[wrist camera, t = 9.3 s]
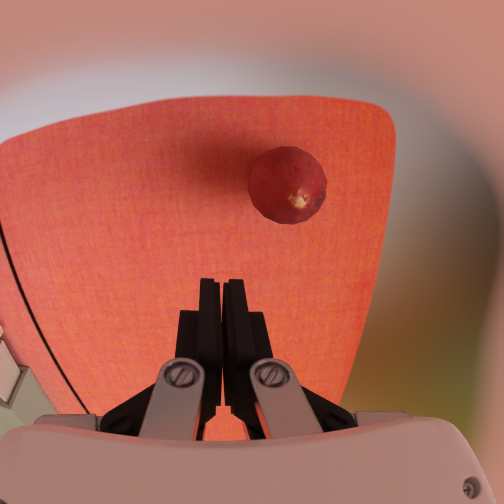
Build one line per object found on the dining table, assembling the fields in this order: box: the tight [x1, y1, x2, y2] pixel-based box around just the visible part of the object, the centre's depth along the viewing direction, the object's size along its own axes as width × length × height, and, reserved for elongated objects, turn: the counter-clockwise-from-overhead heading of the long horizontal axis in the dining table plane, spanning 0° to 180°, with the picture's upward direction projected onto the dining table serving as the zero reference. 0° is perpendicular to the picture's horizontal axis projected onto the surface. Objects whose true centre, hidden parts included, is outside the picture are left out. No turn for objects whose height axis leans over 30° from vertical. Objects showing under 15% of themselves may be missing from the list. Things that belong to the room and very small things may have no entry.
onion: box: [248, 146, 326, 224], centre depth 22 cm, size 6×6×8 cm
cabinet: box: [0, 365, 58, 438], centre depth 32 cm, size 15×13×9 cm
